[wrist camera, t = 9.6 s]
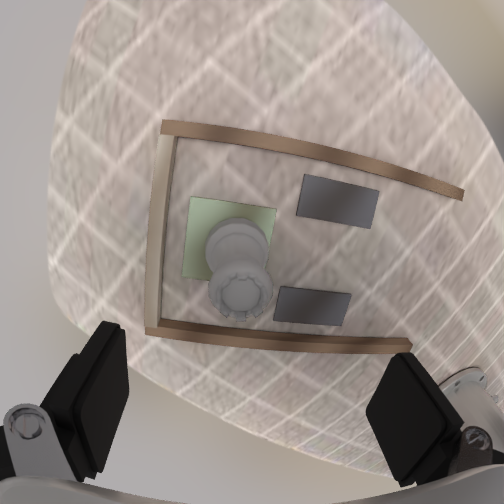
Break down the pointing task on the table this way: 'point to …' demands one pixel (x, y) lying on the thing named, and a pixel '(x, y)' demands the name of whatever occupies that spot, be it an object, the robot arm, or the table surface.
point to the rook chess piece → (238, 268)
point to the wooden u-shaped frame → (310, 205)
